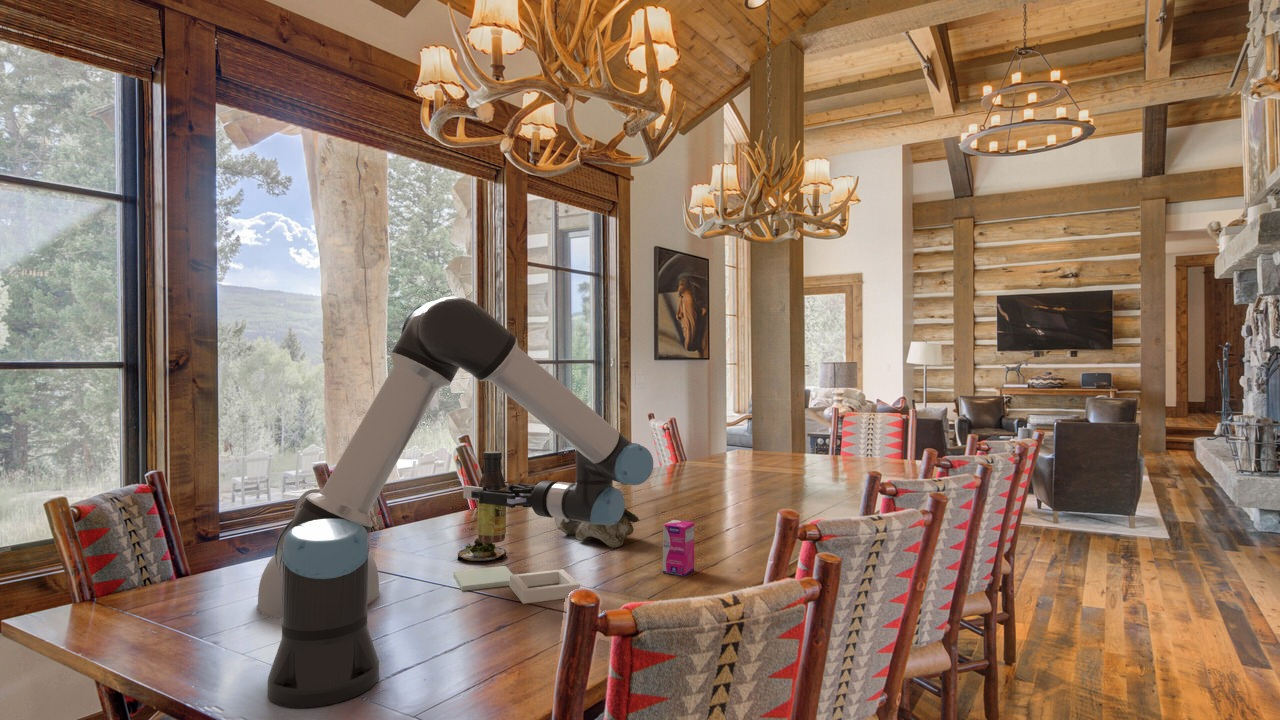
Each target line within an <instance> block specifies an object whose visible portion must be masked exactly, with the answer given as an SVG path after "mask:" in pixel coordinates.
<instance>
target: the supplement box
mask: <svg viewBox="0 0 1280 720" xmlns="http://www.w3.org/2000/svg"><path fill="white" fill-rule="evenodd" d="M662 530H663V531H662V533H663V534H662V573H664V574H670V575H676V576H680V577H686V576H687V575H689V574H691V573H693V572H694V571H695V522H693V521H686V520H677V519H676V520H675V519H672V520H670V521H668V522H666V523H664V524H663V525H662Z"/></svg>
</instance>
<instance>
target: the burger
mask: <svg viewBox="0 0 1280 720" xmlns="http://www.w3.org/2000/svg"><path fill="white" fill-rule="evenodd" d="M473 541H474V542H473V543H474V544H472V545H471V544H470V542H468V543H467V544H468V545H465V546H464V547H465V548H464V549H462V550H460V551H458V552H457V558H456V559H457V561H458V560H459V559H460V558H461V559H464V560H467V561H471V562H473V561H476V562H479V561H480V562H481V561H483V562H485V561H491V560H496V559H499V558H500V557H502V560H503V561H504V560H506V558H507V551H506V549H505V548H502V547H499V546H496V543H481V542H479V541H478V535H477V536H476V537H475V539H474V540H473Z"/></svg>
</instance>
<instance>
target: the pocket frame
mask: <svg viewBox="0 0 1280 720" xmlns="http://www.w3.org/2000/svg"><path fill="white" fill-rule="evenodd" d="M509 588H510V589H511V590H512V592H513V593H514V594H515V595H516V597H517V599H519V600H520V602H521V603H522V604H523V605H525V604H531V603H539V602H540V603H541V602H545V601H546V602H548V601H554V600H555V601H556V600H561V599H569V598H568V595H569V593H570V592H571V591H573V590H575V589H579V588H580V589H581V584H580V583H579V582H578V581H577V580H576V579H575V578H573V577H572V576H571V575H570V573H567V572H566V571H565V570H564V569H563V568H561V569H552V570H545V571H536V572H525V573H519V574H518V573H516V574H513V575H510V585H509Z"/></svg>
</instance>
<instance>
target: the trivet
mask: <svg viewBox="0 0 1280 720" xmlns="http://www.w3.org/2000/svg"><path fill="white" fill-rule="evenodd" d="M452 573H453V575H452V576H453V578H454V579H455V582H456V583H457V584H458V586H459V589H460V590H461V592H465V591H474V590H482V589H483V590H484V589H490V588H491V589H492V588H498V587H499V588H500V587H507V586H510V575H514V574H513V573H512V571H511V570H510V569H509V568H508V567H507V566H506V565H502V566H501V565H499V566H491V567H481V568H473V569H463V570H455V571H453V572H452Z"/></svg>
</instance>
